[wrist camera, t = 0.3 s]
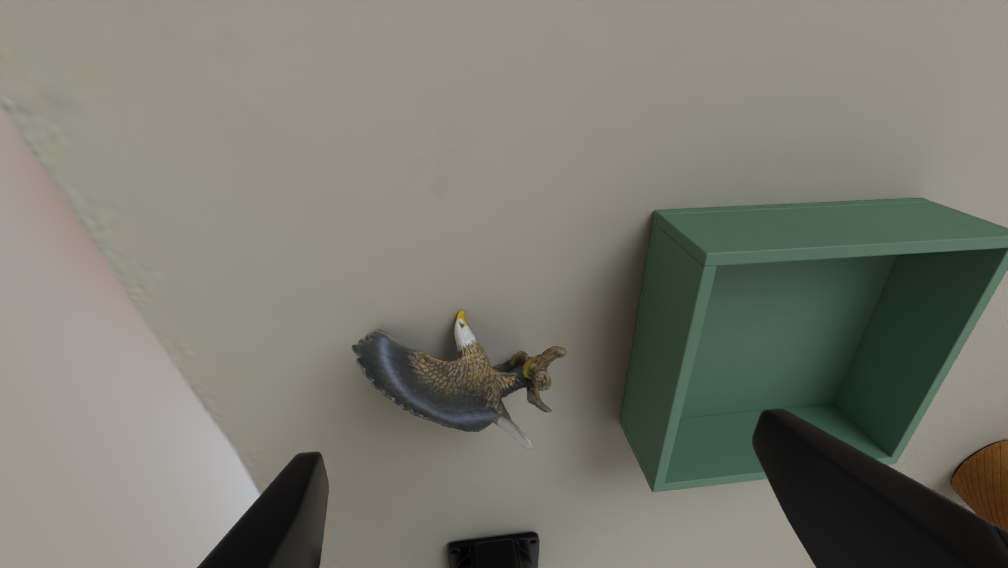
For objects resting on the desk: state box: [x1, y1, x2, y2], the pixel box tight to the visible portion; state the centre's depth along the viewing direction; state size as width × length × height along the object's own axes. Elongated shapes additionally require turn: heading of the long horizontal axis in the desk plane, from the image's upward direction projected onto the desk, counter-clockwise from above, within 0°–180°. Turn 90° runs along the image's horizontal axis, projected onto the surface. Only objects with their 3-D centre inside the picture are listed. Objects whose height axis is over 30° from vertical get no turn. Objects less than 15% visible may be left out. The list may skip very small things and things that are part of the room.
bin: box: [620, 198, 1008, 492], centre depth 25 cm, size 14×15×5 cm
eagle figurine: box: [352, 310, 566, 449], centre depth 23 cm, size 8×7×9 cm
